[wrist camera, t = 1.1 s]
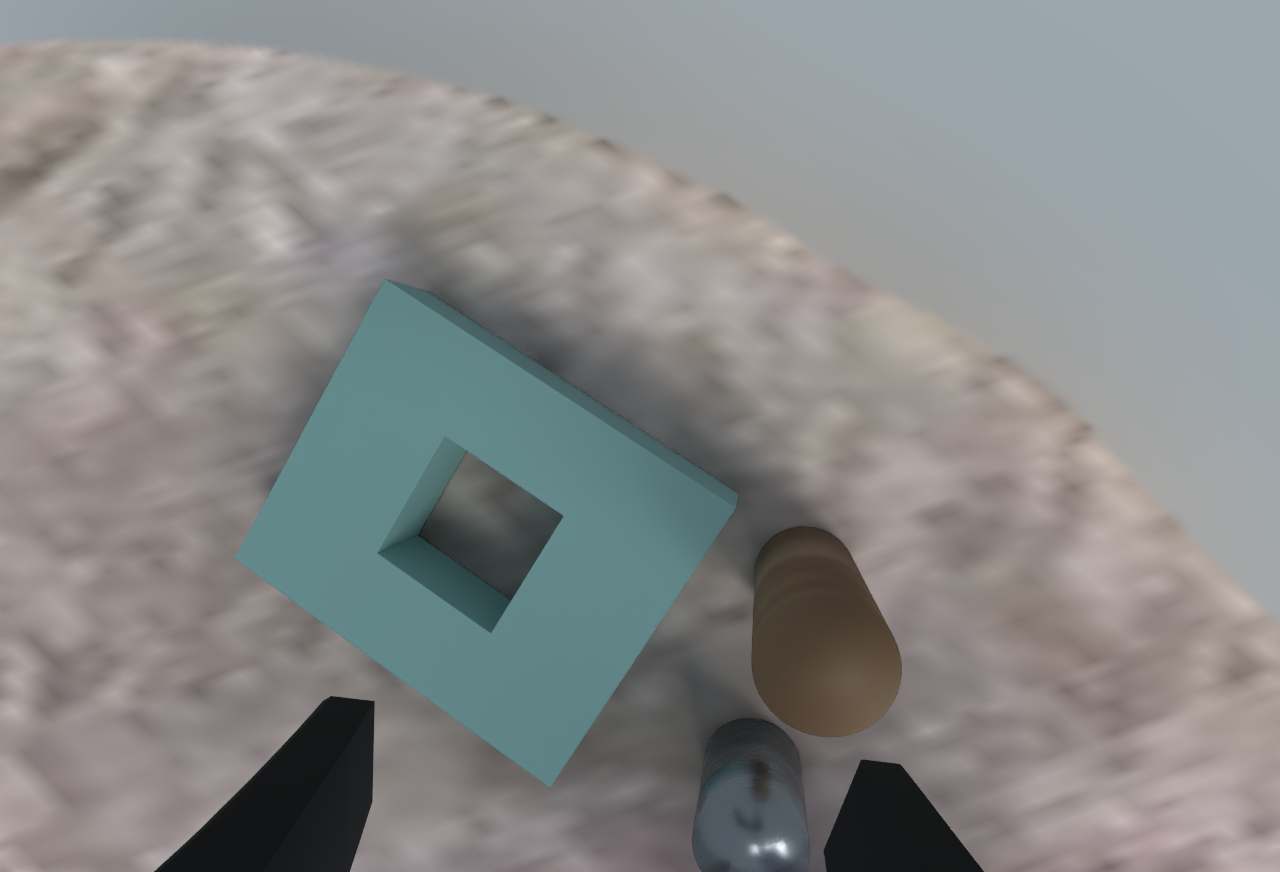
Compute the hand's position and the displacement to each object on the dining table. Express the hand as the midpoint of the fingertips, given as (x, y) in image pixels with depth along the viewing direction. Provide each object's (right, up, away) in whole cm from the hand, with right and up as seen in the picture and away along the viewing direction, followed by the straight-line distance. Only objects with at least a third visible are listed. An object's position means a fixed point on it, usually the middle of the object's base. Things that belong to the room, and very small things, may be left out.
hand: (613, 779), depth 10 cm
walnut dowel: (+5, +1, +11) cm, 12 cm away
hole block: (-4, +2, +12) cm, 13 cm away
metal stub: (+4, -5, +12) cm, 13 cm away
